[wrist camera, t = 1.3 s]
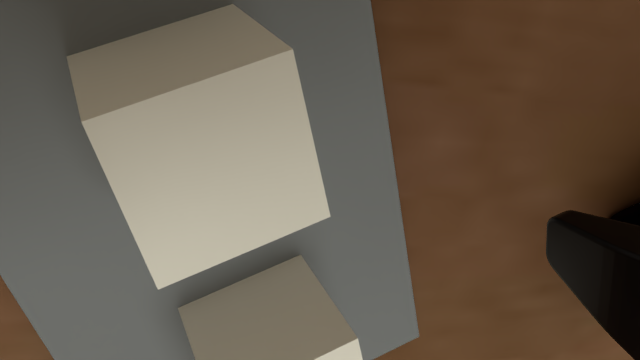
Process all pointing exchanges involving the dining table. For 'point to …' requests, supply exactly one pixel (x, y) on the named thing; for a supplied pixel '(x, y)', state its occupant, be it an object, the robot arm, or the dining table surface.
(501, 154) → the dining table surface
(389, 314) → the mat
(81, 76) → the plain block
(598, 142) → the dining table surface
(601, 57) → the dining table surface
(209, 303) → the block one
